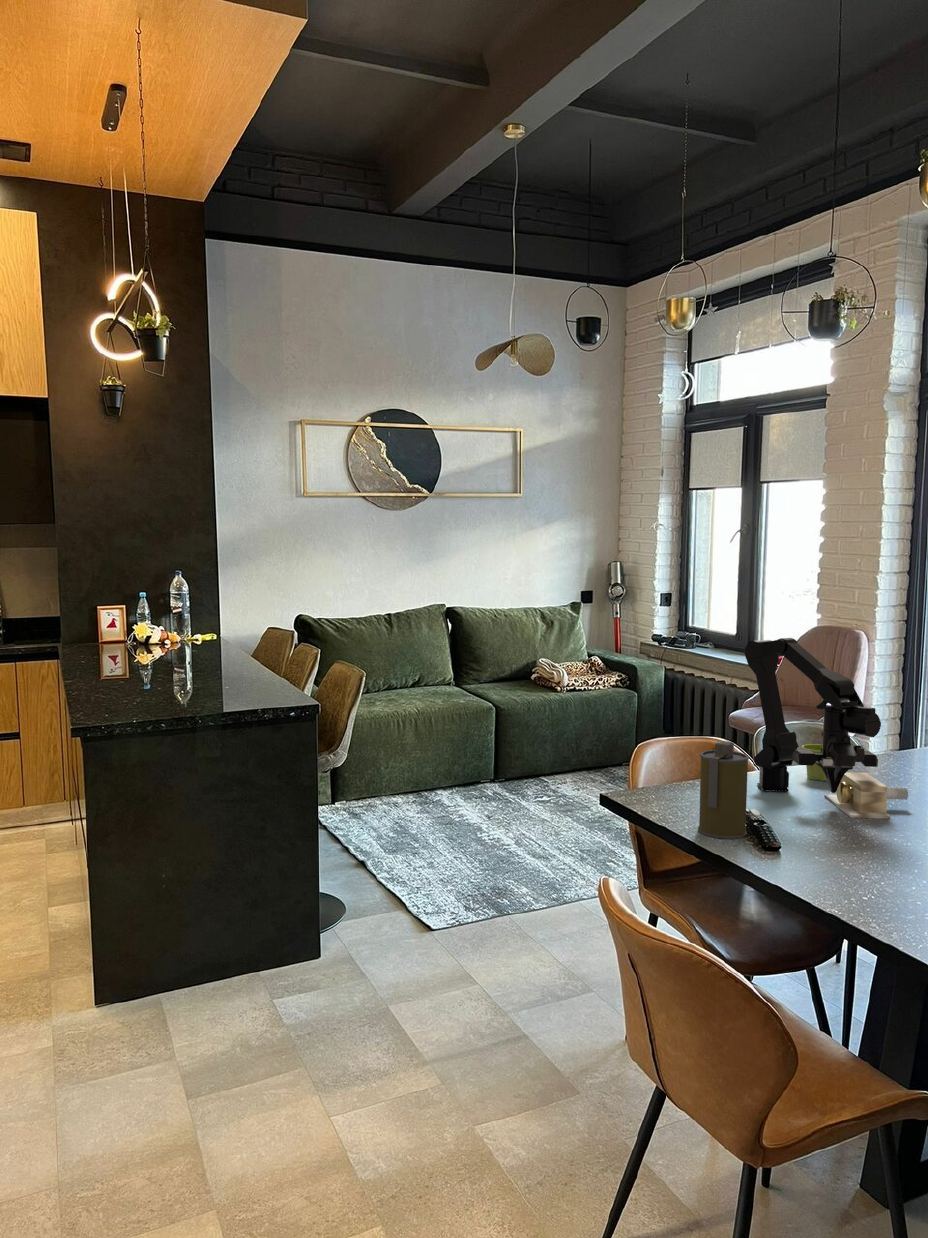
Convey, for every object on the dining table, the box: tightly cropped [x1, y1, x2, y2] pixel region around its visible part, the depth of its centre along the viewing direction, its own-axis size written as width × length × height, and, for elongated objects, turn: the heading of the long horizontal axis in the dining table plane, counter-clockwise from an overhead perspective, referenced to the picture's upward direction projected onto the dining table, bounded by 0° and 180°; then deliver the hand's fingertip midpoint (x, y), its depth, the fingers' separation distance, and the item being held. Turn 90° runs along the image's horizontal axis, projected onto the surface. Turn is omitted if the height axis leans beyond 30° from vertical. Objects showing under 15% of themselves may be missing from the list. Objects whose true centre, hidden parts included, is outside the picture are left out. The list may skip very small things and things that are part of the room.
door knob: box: [836, 782, 909, 803], centre depth 220 cm, size 16×5×5 cm, turn 87°
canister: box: [697, 740, 750, 840], centre depth 200 cm, size 11×10×20 cm
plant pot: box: [801, 743, 831, 782], centre depth 248 cm, size 9×9×9 cm
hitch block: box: [824, 771, 891, 820], centre depth 220 cm, size 9×18×7 cm, turn 177°
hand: (833, 792), depth 220 cm, fingers closed
